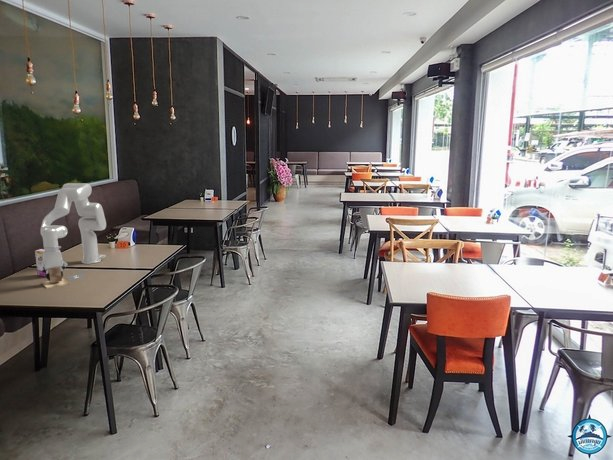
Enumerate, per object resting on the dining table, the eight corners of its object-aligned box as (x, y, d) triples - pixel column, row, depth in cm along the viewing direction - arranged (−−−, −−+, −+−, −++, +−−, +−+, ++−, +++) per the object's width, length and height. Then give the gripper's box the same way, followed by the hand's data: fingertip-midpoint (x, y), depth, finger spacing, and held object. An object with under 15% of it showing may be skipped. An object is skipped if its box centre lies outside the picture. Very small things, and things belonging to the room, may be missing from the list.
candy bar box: (37, 276, 299) (34, 250, 295) (43, 273, 303) (40, 248, 300) (50, 277, 295) (47, 251, 292) (57, 275, 300) (54, 250, 296)
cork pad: (63, 279, 291) (63, 278, 291) (68, 284, 282) (68, 282, 281) (42, 283, 283) (41, 282, 283) (46, 288, 274) (46, 287, 274)
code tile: (81, 274, 302) (81, 273, 302) (85, 277, 295) (85, 277, 295) (66, 276, 296) (66, 276, 296) (69, 280, 290) (69, 279, 290)
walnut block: (59, 278, 286) (58, 265, 285) (62, 280, 282) (60, 267, 280) (48, 280, 283) (46, 267, 281) (50, 282, 278) (49, 269, 276)
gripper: (65, 245, 286) (69, 274, 290) (33, 250, 276) (37, 280, 279) (69, 247, 281) (72, 277, 284) (36, 252, 270) (39, 283, 274)
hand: (54, 278), depth 282 cm, fingers closed on walnut block, 5 cm apart
